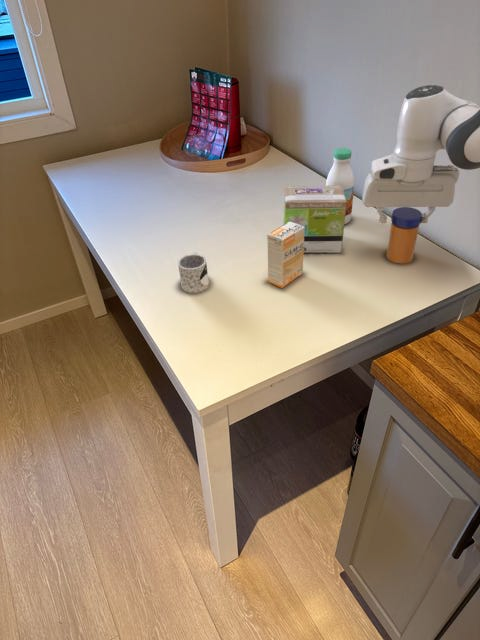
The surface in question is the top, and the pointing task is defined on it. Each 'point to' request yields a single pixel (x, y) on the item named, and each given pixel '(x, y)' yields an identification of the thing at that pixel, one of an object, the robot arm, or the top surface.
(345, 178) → the milk bottle
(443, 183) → the robot arm
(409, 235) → the jar
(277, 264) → the supplement box
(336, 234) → the tea box
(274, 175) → the top surface
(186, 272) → the mug
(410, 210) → the lid
